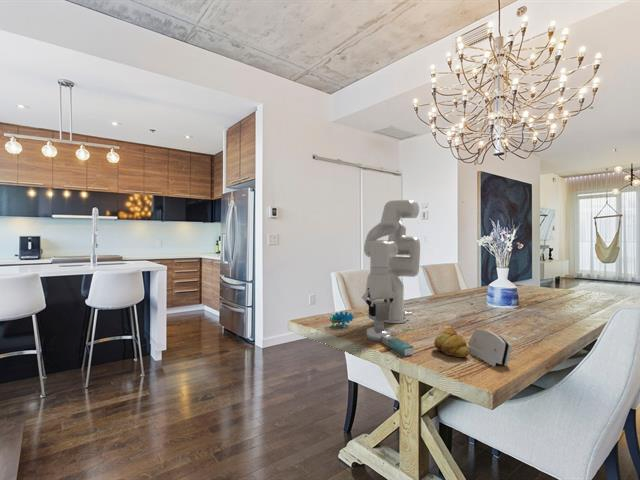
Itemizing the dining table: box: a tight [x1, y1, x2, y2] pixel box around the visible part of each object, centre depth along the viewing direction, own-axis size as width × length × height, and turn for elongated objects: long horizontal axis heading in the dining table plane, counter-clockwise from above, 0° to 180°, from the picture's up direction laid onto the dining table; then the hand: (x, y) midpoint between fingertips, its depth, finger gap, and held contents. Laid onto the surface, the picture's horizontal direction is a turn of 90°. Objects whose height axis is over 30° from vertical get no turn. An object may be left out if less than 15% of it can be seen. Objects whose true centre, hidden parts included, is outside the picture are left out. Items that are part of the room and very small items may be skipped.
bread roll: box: [433, 327, 470, 358], centre depth 121 cm, size 13×10×8 cm
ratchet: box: [366, 320, 414, 357], centre depth 130 cm, size 10×26×8 cm, turn 20°
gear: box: [329, 311, 354, 329], centre depth 154 cm, size 11×6×10 cm
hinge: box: [466, 329, 512, 367], centre depth 117 cm, size 17×5×10 cm, turn 11°
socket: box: [368, 299, 389, 322], centre depth 138 cm, size 6×6×7 cm
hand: (379, 314), depth 138 cm, fingers closed on socket, 6 cm apart
